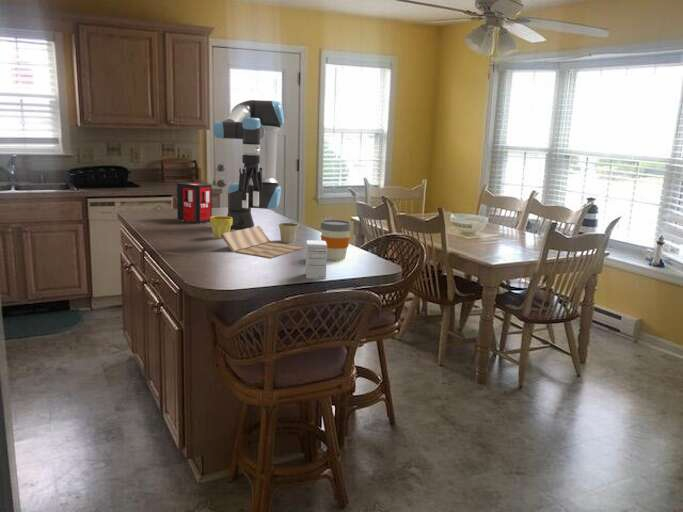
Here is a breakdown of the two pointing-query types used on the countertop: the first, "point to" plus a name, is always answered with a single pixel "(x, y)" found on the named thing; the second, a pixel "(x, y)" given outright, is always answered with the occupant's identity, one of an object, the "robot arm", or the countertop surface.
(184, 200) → the cleaning product box
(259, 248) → the laid floor
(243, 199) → the robot arm
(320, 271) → the supplement box
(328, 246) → the reusable coffee cup
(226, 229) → the plant pot
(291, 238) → the flower pot
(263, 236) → the board
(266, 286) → the countertop surface
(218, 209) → the countertop surface
